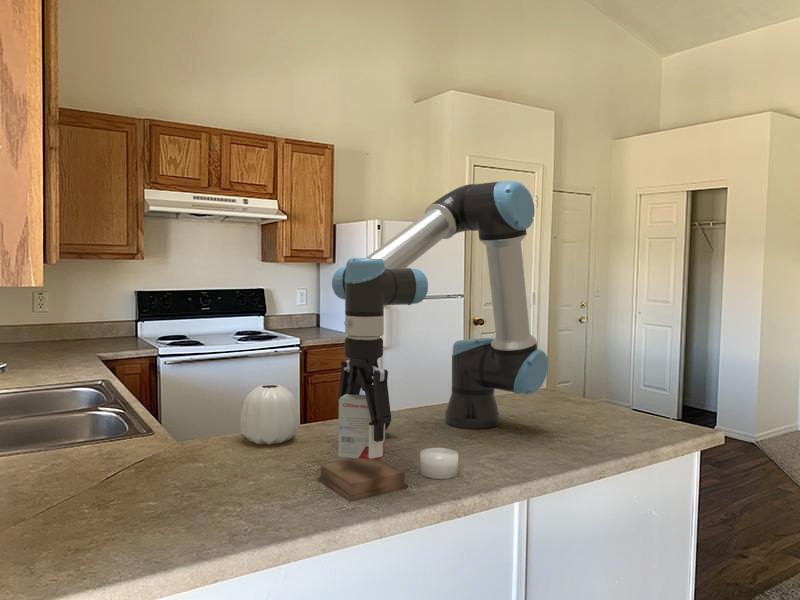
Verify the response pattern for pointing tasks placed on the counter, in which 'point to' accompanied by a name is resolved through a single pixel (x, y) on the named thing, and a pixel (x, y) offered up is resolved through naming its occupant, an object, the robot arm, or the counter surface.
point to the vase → (269, 415)
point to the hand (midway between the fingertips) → (362, 450)
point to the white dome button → (439, 463)
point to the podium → (362, 478)
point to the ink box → (355, 427)
